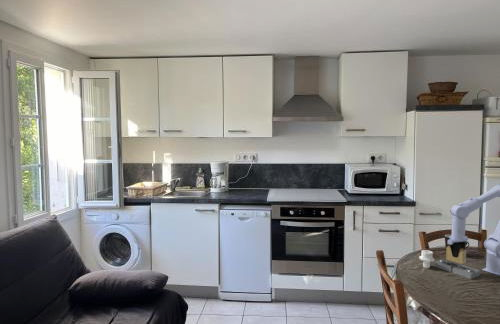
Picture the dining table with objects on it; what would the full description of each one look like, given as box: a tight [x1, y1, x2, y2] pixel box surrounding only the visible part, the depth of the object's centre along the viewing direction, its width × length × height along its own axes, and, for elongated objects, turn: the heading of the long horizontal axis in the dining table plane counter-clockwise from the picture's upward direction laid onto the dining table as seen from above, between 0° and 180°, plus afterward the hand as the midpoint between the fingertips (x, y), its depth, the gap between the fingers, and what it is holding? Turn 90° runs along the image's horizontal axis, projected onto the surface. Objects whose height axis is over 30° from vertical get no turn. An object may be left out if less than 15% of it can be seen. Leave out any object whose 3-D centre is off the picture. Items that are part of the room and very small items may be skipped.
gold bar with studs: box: [445, 246, 467, 265], centre depth 174 cm, size 8×3×7 cm, turn 31°
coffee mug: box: [444, 233, 470, 250], centre depth 198 cm, size 12×9×10 cm
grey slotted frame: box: [433, 258, 481, 280], centre depth 174 cm, size 18×8×3 cm, turn 31°
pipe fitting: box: [418, 249, 436, 269], centre depth 179 cm, size 6×7×8 cm
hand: (456, 256), depth 174 cm, fingers closed on gold bar with studs, 3 cm apart
